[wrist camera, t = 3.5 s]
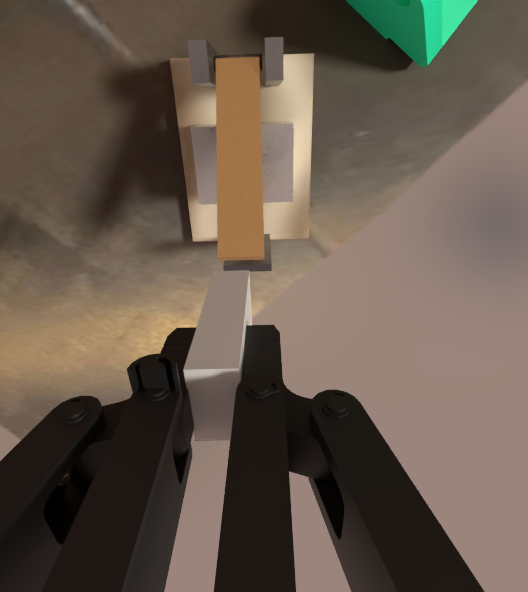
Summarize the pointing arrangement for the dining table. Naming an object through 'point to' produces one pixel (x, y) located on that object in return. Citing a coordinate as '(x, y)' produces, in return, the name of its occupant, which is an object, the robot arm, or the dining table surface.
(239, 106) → the tan wooden flat bar
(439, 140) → the dining table surface
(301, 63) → the board
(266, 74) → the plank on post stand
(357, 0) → the camera mount
